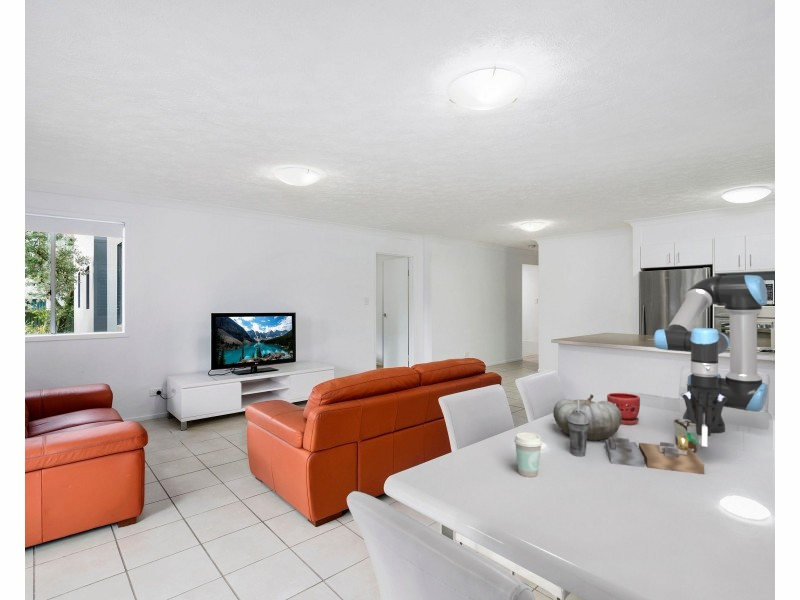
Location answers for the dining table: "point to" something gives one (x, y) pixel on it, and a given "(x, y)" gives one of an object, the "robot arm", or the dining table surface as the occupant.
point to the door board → (652, 456)
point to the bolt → (679, 445)
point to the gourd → (590, 416)
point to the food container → (686, 432)
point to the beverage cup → (578, 432)
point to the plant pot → (629, 411)
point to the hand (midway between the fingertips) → (703, 444)
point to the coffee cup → (528, 453)
